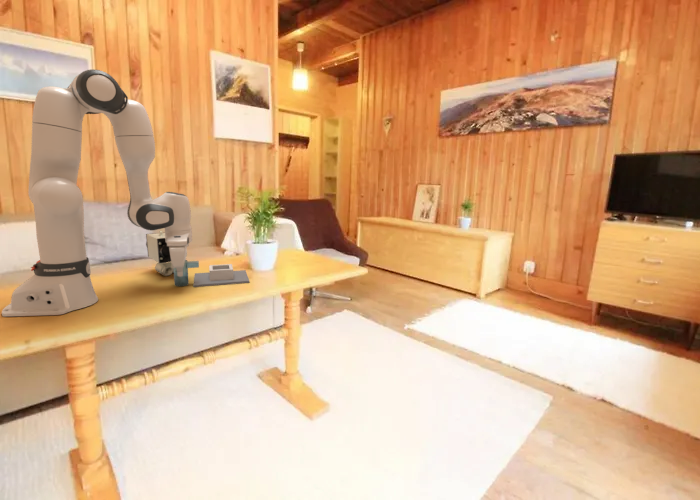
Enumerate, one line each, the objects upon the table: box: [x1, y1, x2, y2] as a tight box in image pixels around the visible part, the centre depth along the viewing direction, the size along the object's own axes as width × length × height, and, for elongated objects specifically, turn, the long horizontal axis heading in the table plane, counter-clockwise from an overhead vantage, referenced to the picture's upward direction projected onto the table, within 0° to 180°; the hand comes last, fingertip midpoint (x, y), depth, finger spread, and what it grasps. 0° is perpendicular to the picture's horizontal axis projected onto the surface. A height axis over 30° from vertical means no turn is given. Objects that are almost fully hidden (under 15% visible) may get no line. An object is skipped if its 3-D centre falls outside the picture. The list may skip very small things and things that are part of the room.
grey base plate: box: [192, 263, 250, 288], centre depth 141 cm, size 20×16×5 cm
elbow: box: [173, 259, 200, 287], centre depth 132 cm, size 9×5×9 cm, turn 111°
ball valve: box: [145, 230, 174, 277], centre depth 144 cm, size 18×8×18 cm, turn 46°
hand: (180, 273), depth 132 cm, fingers closed on elbow, 5 cm apart
